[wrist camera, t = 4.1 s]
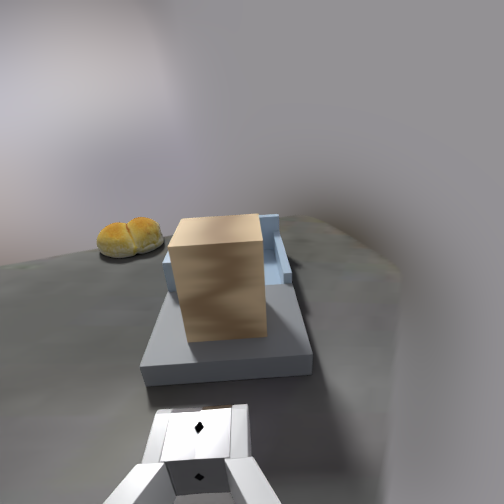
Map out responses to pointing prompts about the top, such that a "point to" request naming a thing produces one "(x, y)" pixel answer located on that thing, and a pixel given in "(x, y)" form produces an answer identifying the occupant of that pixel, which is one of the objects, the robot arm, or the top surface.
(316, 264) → the top surface
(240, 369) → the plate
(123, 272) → the top surface
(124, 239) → the bread roll
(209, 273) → the oak block
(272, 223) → the tray
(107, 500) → the robot arm
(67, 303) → the top surface
